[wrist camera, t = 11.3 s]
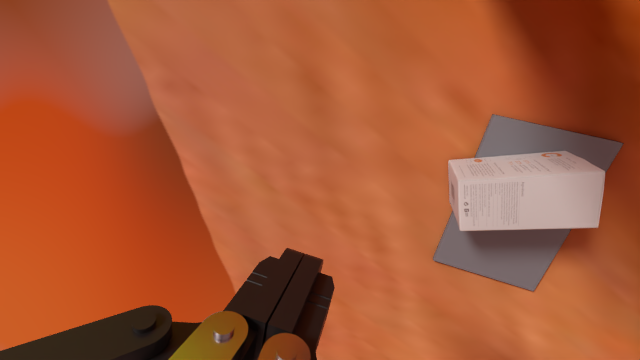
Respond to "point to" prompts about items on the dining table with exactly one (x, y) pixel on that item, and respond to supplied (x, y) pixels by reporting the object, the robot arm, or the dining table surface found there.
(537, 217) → the small box
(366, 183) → the dining table surface
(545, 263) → the slate mat
